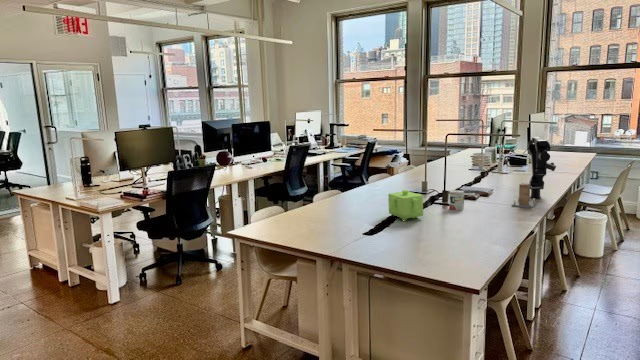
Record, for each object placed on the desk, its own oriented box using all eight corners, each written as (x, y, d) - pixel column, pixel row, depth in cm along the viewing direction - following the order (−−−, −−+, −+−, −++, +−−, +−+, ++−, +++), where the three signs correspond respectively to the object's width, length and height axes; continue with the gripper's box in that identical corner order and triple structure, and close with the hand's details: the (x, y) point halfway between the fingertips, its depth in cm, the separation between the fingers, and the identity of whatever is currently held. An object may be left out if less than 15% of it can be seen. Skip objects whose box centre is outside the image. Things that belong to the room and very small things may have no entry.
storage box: (379, 216, 279) (378, 189, 276) (409, 211, 288) (409, 185, 285) (401, 225, 257) (401, 196, 254) (433, 219, 265) (433, 191, 262)
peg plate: (517, 202, 295) (517, 196, 295) (536, 204, 288) (536, 198, 287) (511, 206, 286) (511, 200, 286) (531, 208, 279) (531, 202, 278)
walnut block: (521, 202, 290) (521, 183, 288) (529, 203, 287) (530, 183, 285) (518, 204, 287) (519, 184, 284) (527, 205, 283) (527, 185, 281)
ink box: (449, 209, 287) (448, 191, 285) (450, 207, 291) (450, 190, 289) (462, 210, 283) (462, 192, 281) (464, 208, 287) (464, 190, 285)
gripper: (555, 161, 276) (554, 186, 278) (555, 157, 292) (554, 180, 295) (535, 161, 281) (535, 185, 283) (536, 157, 297) (535, 180, 300)
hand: (540, 182), depth 290 cm, fingers open, 9 cm apart
